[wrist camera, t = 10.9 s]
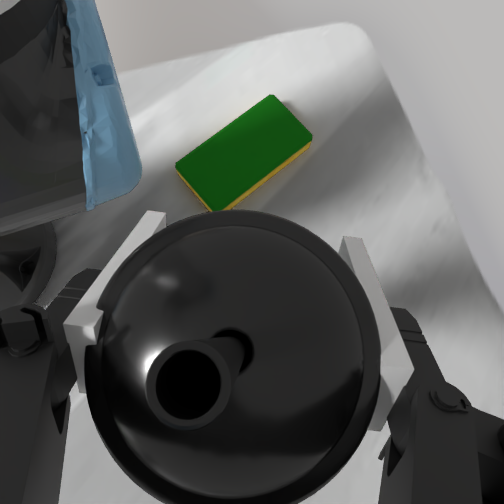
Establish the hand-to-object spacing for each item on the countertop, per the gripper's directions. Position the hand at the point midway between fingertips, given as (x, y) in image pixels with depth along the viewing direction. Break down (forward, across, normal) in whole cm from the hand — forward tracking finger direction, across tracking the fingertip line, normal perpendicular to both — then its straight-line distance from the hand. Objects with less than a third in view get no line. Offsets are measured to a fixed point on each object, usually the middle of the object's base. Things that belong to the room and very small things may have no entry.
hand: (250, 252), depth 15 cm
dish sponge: (+27, -2, -5) cm, 27 cm away
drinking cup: (+3, 0, -9) cm, 9 cm away
